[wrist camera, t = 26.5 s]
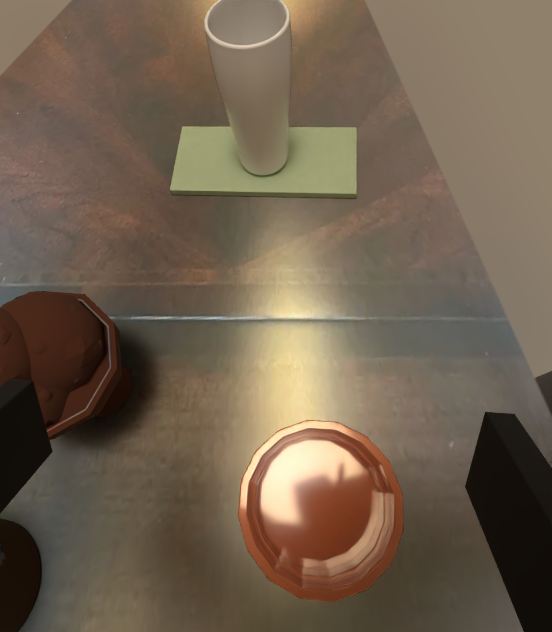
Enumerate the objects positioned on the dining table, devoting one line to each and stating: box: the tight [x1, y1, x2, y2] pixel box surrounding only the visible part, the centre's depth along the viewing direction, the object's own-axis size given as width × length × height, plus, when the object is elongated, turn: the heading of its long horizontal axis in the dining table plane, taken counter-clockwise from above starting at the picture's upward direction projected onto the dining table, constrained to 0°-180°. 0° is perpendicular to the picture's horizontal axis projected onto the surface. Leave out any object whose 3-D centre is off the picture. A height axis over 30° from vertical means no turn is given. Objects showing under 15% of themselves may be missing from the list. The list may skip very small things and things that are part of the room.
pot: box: [238, 420, 404, 602], centre depth 31 cm, size 11×11×6 cm
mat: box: [170, 127, 357, 198], centre depth 46 cm, size 20×9×1 cm, turn 86°
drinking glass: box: [204, 0, 292, 175], centre depth 38 cm, size 7×7×15 cm
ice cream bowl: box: [0, 291, 131, 440], centre depth 31 cm, size 11×11×15 cm
